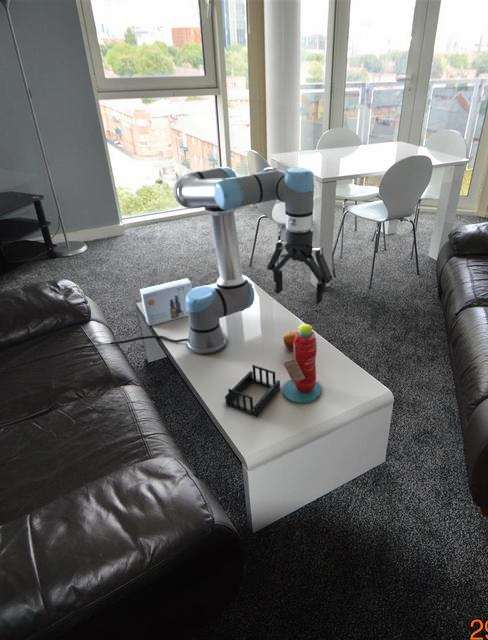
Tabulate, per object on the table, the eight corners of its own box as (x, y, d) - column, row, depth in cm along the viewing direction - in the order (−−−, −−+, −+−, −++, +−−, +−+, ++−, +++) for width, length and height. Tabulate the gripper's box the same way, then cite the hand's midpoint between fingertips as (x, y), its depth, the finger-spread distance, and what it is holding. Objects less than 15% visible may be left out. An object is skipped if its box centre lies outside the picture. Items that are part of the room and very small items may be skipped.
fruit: (291, 353, 167) (286, 333, 167) (284, 353, 175) (278, 334, 174) (310, 348, 170) (305, 328, 170) (301, 348, 178) (296, 328, 177)
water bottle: (295, 403, 146) (295, 340, 132) (280, 391, 151) (278, 329, 137) (322, 388, 152) (324, 326, 138) (307, 377, 157) (308, 316, 143)
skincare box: (149, 327, 188) (142, 294, 179) (146, 321, 192) (138, 288, 183) (196, 314, 197) (191, 281, 188) (192, 308, 200) (187, 277, 192)
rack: (226, 405, 146) (223, 388, 142) (251, 379, 157) (249, 363, 153) (256, 417, 141) (255, 400, 137) (280, 389, 152) (279, 372, 148)
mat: (276, 396, 150) (276, 394, 149) (294, 375, 159) (294, 373, 159) (310, 408, 144) (310, 407, 144) (326, 385, 154) (326, 384, 153)
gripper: (253, 225, 123) (257, 292, 135) (335, 240, 113) (331, 311, 125) (267, 217, 128) (269, 282, 140) (346, 231, 118) (342, 300, 130)
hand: (298, 296), depth 133 cm, fingers open, 13 cm apart
